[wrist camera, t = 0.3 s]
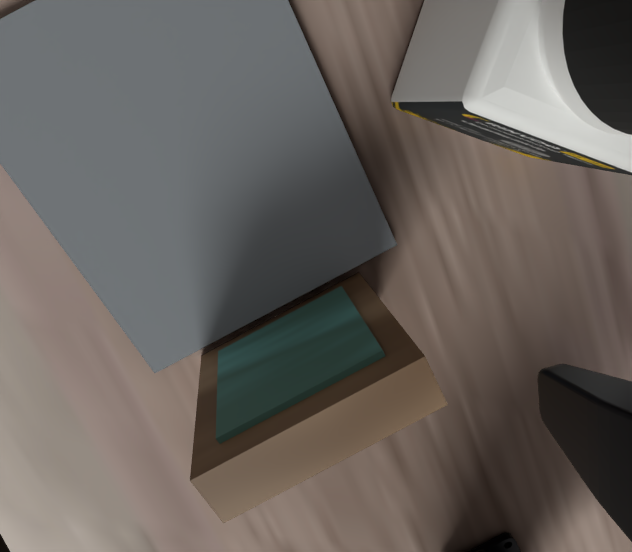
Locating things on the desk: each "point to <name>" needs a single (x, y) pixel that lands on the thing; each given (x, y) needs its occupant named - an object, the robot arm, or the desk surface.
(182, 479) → the desk surface
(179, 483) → the desk surface
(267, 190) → the mat
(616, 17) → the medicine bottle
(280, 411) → the tile
